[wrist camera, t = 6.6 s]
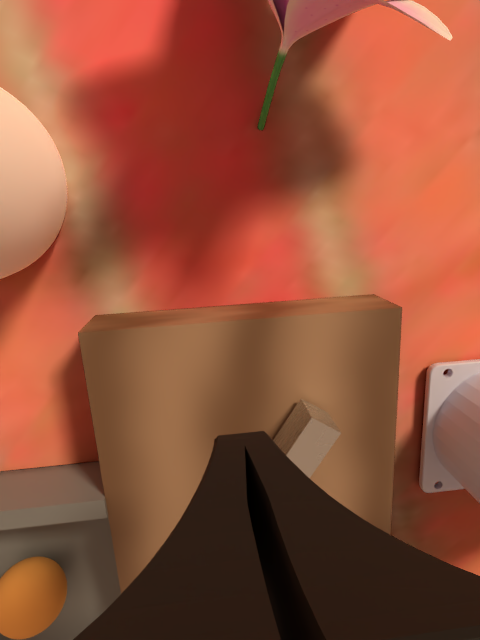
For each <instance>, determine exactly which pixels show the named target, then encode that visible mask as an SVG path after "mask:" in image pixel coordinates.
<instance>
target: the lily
mask: <svg viewBox="0 0 480 640" xmlns="http://www.w3.org/2000/svg"><path fill="white" fill-rule="evenodd" d="M268 2H269V4H270V6H271V8H272V10H273V13H274V15H275V17H276V19H277V21H278V24H279V26H280V29H281V33H282V41H281V45H280V48H279V51H278V54H277V58H276V61H275V64H274V68H273V71H272V74H271V78H270V81H269V84H268V88H267V92H266V95H265V99H264V103H263V107H262V111H261V115H260V119H259V123H258V129H259V130H263V129H264V126H265V122H266V118H267V115H268V111H269V108H270V104H271V101H272V97H273V94H274V90H275V87H276V84H277V80H278V77H279V74H280V71H281V68H282V65H283V63H284V60H285V57H286V55H287V52H288V50H289V48H290V47H291V46H292V45H293V43H294V42H296V41H297V40H298V39H300V38H302V37H304V36H305V35H307V34H309V33H311V32H313V31H315V30H317V29H319V28H322V27H324V26H326V25H328V24H330V23H332V22H334V21H336V20H338V19H341V18H343V17H345V16H347V15H350V14H352V13H354V12H357V11H359V10H361V9H364V8H367V7H369V6H372V5H375V4H380V5H383V6H387V7H390V8H393V9H395V10H397V11H399V12H401V13H403V14H404V15H406V16H408V17H410V18H412V19H413V20H415V21H417V22H419V23H420V24H422V25H424V26H426V27H427V28H429V29H431V30H433V31H434V32H436V33H438V34H440V35H441V36H443V37H445V38H447V39H448V40H450V41H451V39H452V38H453V37H452V35H451V34H450V32H449V30H448V28H447V27H446V26H445V25H444V24H443V23H442V22H441V21H440V19H439V18H438V17H437V16H435V15H434V14H433V13H432V12H430V11H429V10H428V9H427V8H425V7H424V6H422V5H420V4H418V3H416V2H414V1H410V0H389V1H384V0H268Z"/></svg>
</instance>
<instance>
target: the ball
mask: <svg viewBox="0 0 480 640" xmlns="http://www.w3.org/2000/svg"><path fill="white" fill-rule="evenodd" d="M66 595H67V580H66V576H65V573H64V571H63V569H62V568H61V567H60V565H59V564H58V563H57V562H55V561H54V560H52V559H50V558H47V557H40V556H37V557H30V558H27V559H24V560H22V561H20V562H18V563H16V564H15V565H13V566H12V567H11V568H10V569H8V570H7V571H6V572H5V573H4V575H3V576H2V577H1V578H0V633H1V634H2V635H4V636H6V637H8V638H11V639H26V638H30V637H33V636H35V635H37V634H39V633H41V632H42V631H44V630H45V629H46V628H48V627H49V626H50V625H51V624H52V623H53V622H54V620H55V619H56V618H57V616H58V615H59V613H60V612H61V610H62V608H63V605H64V603H65V600H66Z"/></svg>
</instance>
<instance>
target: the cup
mask: <svg viewBox="0 0 480 640" xmlns="http://www.w3.org/2000/svg"><path fill="white" fill-rule="evenodd" d="M66 208H67V180H66V175H65V170H64V166H63V163H62V160H61V157H60V155H59V152H58V150H57V148H56V146H55V144H54V142H53V140H52V138H51V137H50V135H49V134H48V132H47V131H46V129H45V128H44V126H43V125H42V124H41V123H40V121H39V120H38V119H37V118H36V117H35V116H34V115H33V113H32V112H31V111H30V110H29V109H28V108H27V107H25V106H24V105H23V104H22V103H21V102H20V101H19V100H17V99H16V98H15V97H14V96H12V95H11V94H10V93H8V92H7V91H5V90H4V89H2V88H1V87H0V279H2V278H4V277H7V276H10V275H12V274H14V273H17V272H19V271H21V270H22V269H24V268H26V267H28V266H29V265H31V264H32V263H33V262H35V261H36V260H37V259H38V258H40V257H41V256H42V255H43V254H44V253H45V252H46V251H47V250H48V248H49V247H50V246H51V245H52V243H53V242H54V240H55V239H56V237H57V235H58V233H59V231H60V229H61V226H62V224H63V221H64V217H65V213H66Z"/></svg>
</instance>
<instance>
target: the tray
mask: <svg viewBox="0 0 480 640" xmlns="http://www.w3.org/2000/svg"><path fill="white" fill-rule="evenodd" d="M37 556H40V557H47V558H50V559H52V560H54V561H55V562H57V563H58V564H59V565H60V567H61V568H62V569H63V571H64V573H65V576H66V580H67V595H66V600H65V603H64V605H63V608H62V610H61V612H60V613H59V615H58V616H57V618H56V619H55V620H54V622H53V623H52V624H51V625H50V626H49V627H48V628H46V629H45V630H44V631H42V632H41V633H39V634H37V635H35V636H33V637H30V638H26V639H11V638H8V637H6V636H4V635H2V634H1V633H0V640H73V639H74V638H75V637H76V636H78V635H79V634H80V633H81V632H82V631H83V630H84V629H85V628H86V627H88V626H89V625H90V624H91V623H92V622H93V621H94V620H95V619H97V618H98V617H99V616H100V615H101V614H102V613H103V612H104V611H105V610H106V609H107V608H108V607H109V606H110V605H111V604H112V603H113V602H114V601H115V600H116V599H117V598H118V597H119V596H120V594H121V590H120V584H119V578H118V572H117V566H116V560H115V554H114V548H113V542H112V536H111V530H110V524H109V518H108V512H107V506H106V500H105V494H104V487H103V481H102V475H101V469H100V463H99V461H97V462H87V463H78V464H68V465H58V466H49V467H39V468H30V469H20V470H10V471H1V472H0V578H1V577H2V576H3V575H4V573H5V572H6V571H7V570H8V569H10V568H11V567H12V566H13V565H15V564H16V563H18V562H20V561H22V560H24V559H27V558H30V557H37Z"/></svg>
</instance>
